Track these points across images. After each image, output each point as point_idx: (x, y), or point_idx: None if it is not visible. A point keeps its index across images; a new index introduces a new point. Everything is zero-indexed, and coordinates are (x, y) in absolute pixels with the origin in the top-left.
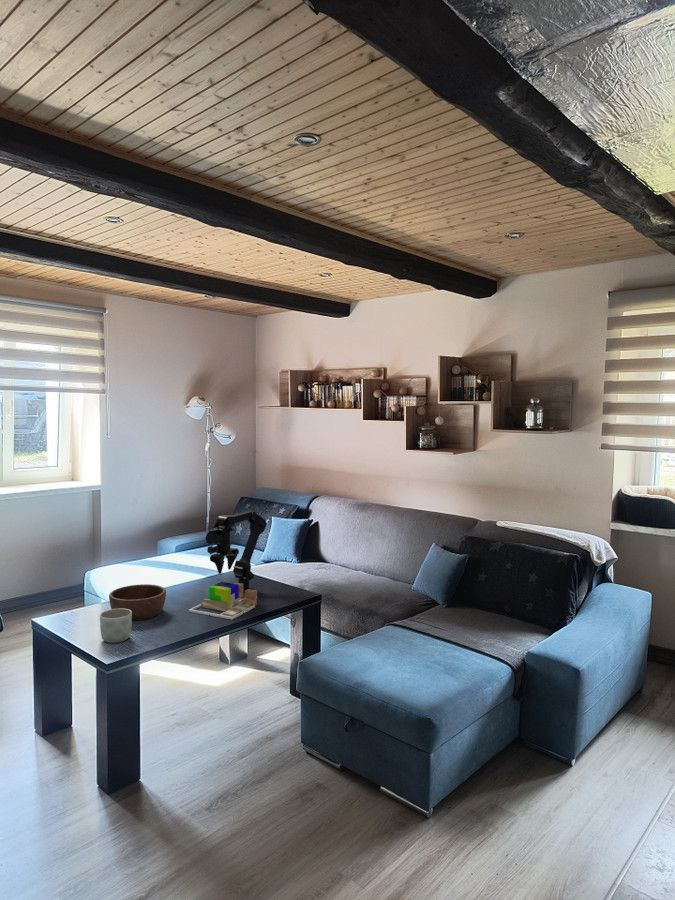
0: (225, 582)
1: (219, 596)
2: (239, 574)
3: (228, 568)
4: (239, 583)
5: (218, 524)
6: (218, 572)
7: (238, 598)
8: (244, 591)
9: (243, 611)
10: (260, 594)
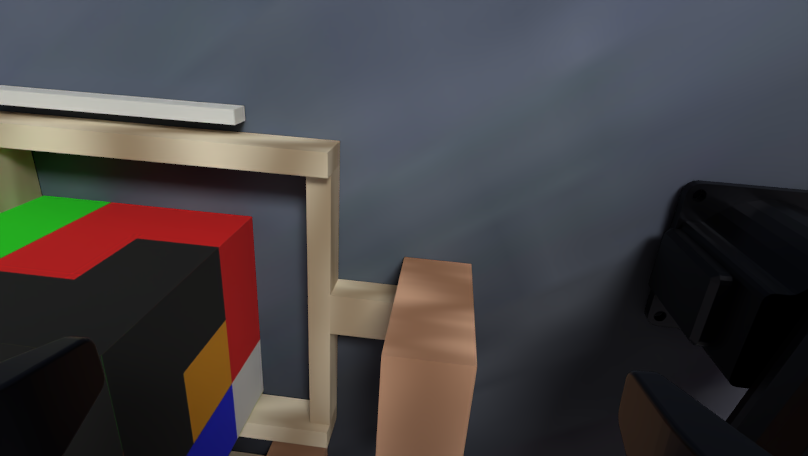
0: (114, 427)
1: None
2: (746, 417)
3: (635, 393)
4: (459, 435)
5: None
6: (32, 356)
7: (237, 434)
8: (648, 301)
9: None
10: (607, 452)
